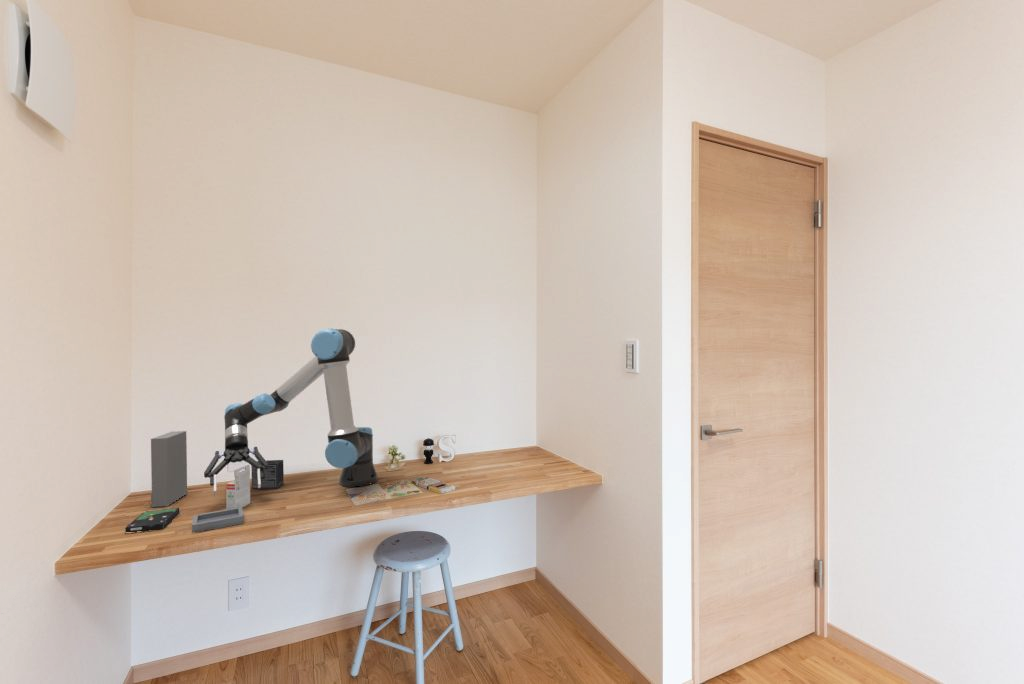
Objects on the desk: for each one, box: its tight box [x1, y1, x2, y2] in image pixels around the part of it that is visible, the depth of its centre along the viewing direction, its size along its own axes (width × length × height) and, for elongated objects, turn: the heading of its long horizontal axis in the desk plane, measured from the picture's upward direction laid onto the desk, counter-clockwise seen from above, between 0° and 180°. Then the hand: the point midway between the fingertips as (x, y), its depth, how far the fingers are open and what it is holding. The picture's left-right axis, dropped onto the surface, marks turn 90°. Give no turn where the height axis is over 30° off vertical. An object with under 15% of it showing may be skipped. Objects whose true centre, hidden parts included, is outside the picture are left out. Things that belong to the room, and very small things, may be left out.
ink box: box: [225, 464, 251, 510], centre depth 167 cm, size 4×8×15 cm, turn 172°
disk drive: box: [124, 507, 180, 533], centre depth 154 cm, size 10×3×15 cm
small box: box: [250, 459, 285, 490], centre depth 191 cm, size 11×6×10 cm, turn 94°
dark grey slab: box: [149, 430, 189, 508], centre depth 175 cm, size 14×6×25 cm, turn 9°
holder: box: [191, 507, 244, 534], centre depth 153 cm, size 14×10×2 cm
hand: (237, 489), depth 166 cm, fingers open, 13 cm apart
